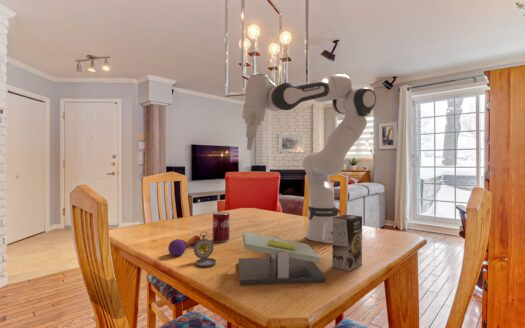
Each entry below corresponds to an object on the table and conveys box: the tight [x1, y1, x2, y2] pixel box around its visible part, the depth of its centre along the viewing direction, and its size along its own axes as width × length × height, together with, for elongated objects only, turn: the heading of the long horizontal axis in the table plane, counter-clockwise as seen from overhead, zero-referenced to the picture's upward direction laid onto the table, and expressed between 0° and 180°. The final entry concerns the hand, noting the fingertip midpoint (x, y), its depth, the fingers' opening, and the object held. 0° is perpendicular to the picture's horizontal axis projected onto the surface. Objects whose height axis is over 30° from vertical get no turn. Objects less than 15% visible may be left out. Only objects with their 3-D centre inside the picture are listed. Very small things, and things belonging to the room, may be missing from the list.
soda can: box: [212, 211, 231, 243], centre depth 123 cm, size 7×7×12 cm
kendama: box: [167, 234, 201, 257], centre depth 110 cm, size 6×6×20 cm
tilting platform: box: [242, 231, 321, 264], centre depth 88 cm, size 22×14×4 cm, turn 96°
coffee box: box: [331, 214, 363, 272], centre depth 93 cm, size 9×6×16 cm
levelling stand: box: [238, 236, 326, 286], centre depth 87 cm, size 24×18×8 cm
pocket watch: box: [193, 231, 217, 268], centre depth 95 cm, size 8×8×10 cm
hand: (249, 149), depth 114 cm, fingers open, 8 cm apart
